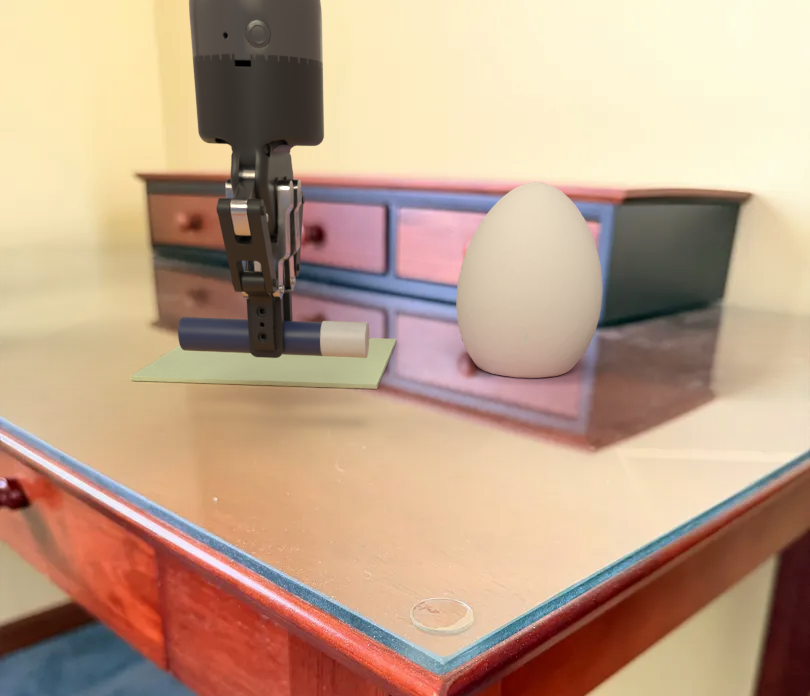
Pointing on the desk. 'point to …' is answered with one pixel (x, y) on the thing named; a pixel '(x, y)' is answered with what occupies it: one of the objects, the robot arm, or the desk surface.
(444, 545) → the desk surface
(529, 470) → the desk surface
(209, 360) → the desk mat
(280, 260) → the robot arm
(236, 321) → the marker
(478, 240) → the decorative egg
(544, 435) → the desk surface
